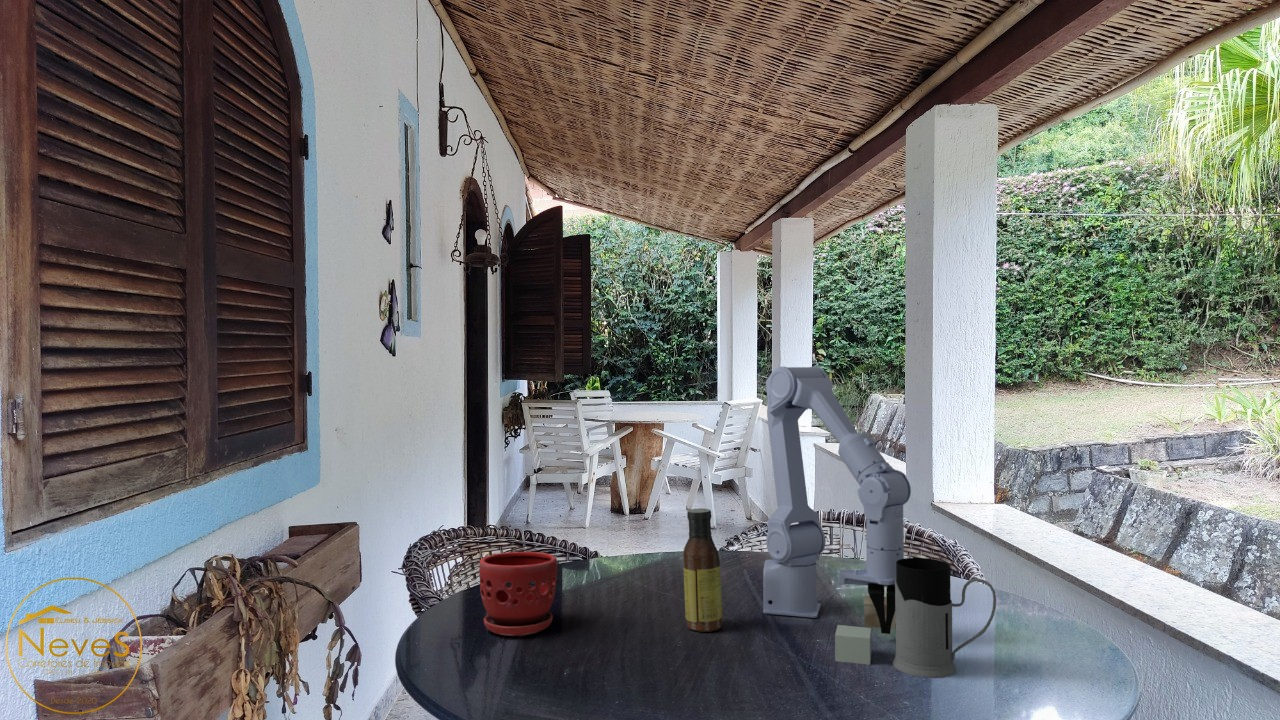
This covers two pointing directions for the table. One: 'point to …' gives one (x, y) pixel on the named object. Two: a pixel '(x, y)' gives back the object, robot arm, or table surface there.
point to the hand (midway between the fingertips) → (885, 631)
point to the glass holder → (927, 618)
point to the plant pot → (518, 592)
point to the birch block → (874, 613)
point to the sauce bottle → (702, 575)
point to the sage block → (853, 644)
